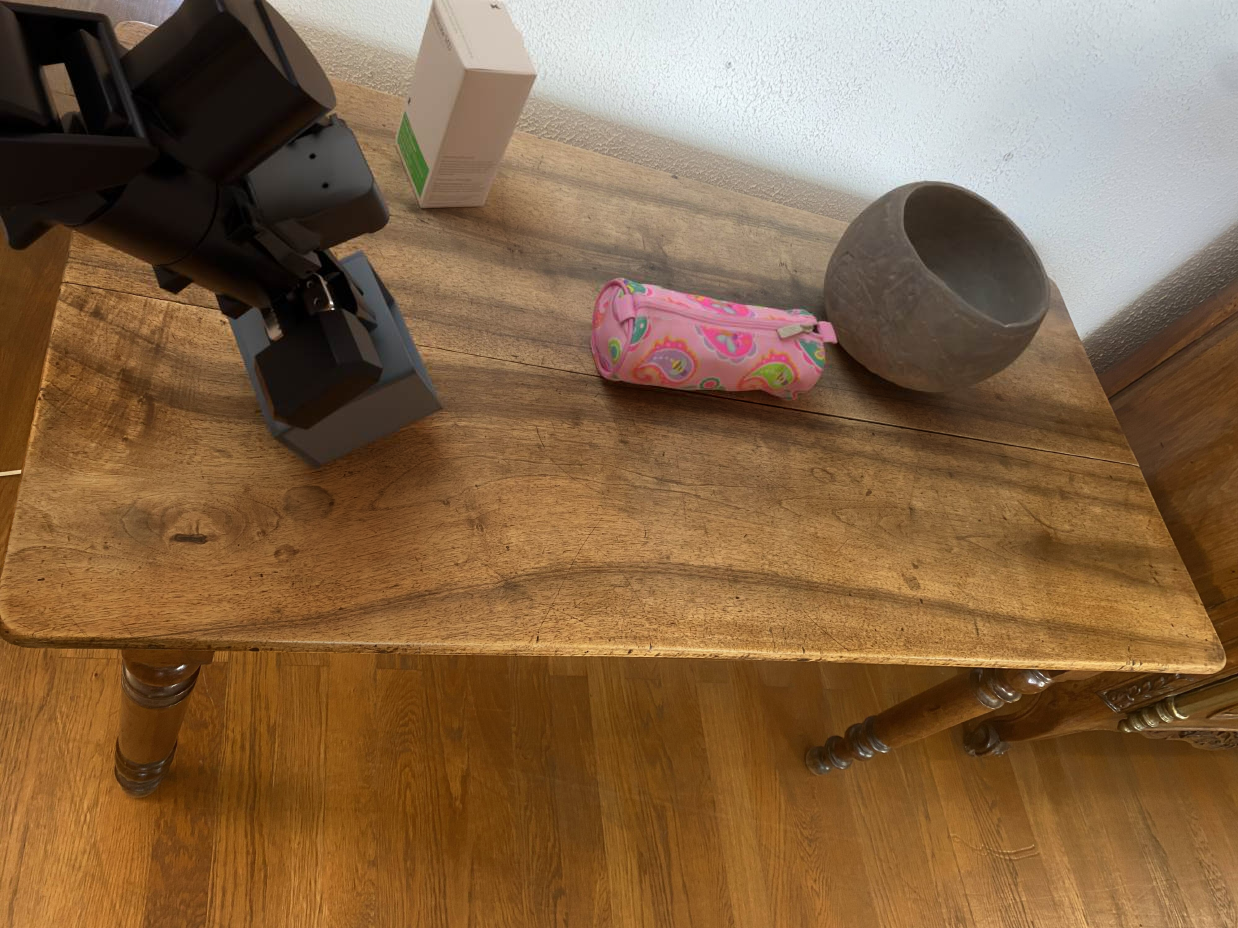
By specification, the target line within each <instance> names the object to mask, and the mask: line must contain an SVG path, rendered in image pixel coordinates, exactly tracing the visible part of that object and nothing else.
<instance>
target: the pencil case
mask: <svg viewBox="0 0 1238 928" xmlns="http://www.w3.org/2000/svg"><path fill="white" fill-rule="evenodd" d="M825 343H830V344H833V345H835V344H837V343H838V340H837V339H836V335H835V332H834V329H833V327H832V325H831V323H830V322H828V321H818V319H817V318H816V316H814V314H813V311H811V310H808V311H807V310H806V309H803V308H792V309H787V310H781V309H778V308H772V307H766V306H763V305H762V306H761V305H752V304H741V303H736V302H733V301H726V300H720V299H715V298H712V297H708V296H704V295H698V294H691V293H687V292H686V293H685V292H679V291H676V290H672V289H667V288H665V287H663V286H661V285H657V284H656V285H655V284H648V283H638V282H635V281H632V280H630V279H627V278H625V277H616V278H613V279H611V280H609V281H608V282H607V283H606V284H604V286H603V287H602V289H601V290H600V292H599V294H598V295H597V298H596V300H595V303H594V306H593V313H592V319H591V335H590V348H591V352H592V356H593V359H594V361H595V365H596V368H597V370H598V372H599V374H600V375H601V376H602V377H603V378H605V379H607V380H610V381H614V382H620V381H622V382H626V383H630V384H635V385H644V386H654V387H655V386H656V387H661V388H662V387H663V388H666V389H667V388H668V389H675V390H681V391H696V390H716V391H717V390H718V391H726V392H744V391H756V390H757V391H758V390H761V391H764V392H765V393H767V394H769V395H771V396H775V397H780V398H781V399H782V400H784V401H787V402H791V401H796V400H797V399H799V398H800V397H801V396H803V395H805V394H806V393H807V392H808V391H810V390H811V389H812V388H813V387H814V386H815V385H817V383H818V381H819V380H820V377H821V375H822V373H823V370H824V367H825V363H826V349H825Z"/></svg>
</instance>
